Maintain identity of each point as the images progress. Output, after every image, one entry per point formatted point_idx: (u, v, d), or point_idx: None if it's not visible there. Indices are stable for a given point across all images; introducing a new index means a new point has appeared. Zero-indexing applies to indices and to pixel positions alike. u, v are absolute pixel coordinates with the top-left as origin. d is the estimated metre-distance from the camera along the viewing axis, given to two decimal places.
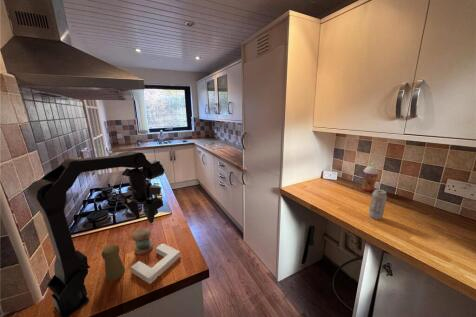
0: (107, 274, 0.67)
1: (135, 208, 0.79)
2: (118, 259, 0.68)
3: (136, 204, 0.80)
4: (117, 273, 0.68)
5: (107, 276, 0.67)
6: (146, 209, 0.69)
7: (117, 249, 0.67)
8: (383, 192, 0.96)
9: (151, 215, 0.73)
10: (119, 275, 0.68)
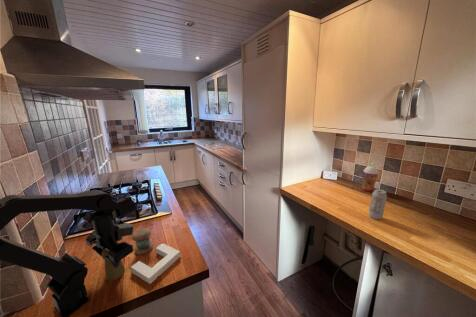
0: (107, 274, 0.67)
1: None
2: None
3: None
4: (117, 273, 0.68)
5: (107, 276, 0.67)
6: (111, 258, 0.60)
7: None
8: (383, 192, 0.96)
9: None
10: (119, 275, 0.68)
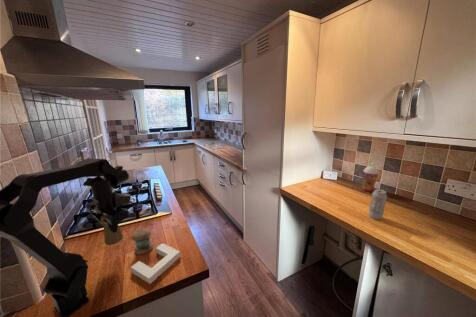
0: (106, 239, 0.71)
1: None
2: None
3: None
4: (115, 238, 0.71)
5: (106, 241, 0.71)
6: (108, 221, 0.64)
7: None
8: (383, 192, 0.96)
9: (113, 225, 0.69)
10: (117, 240, 0.72)
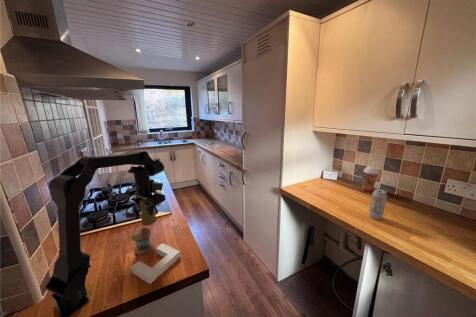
0: (143, 220, 0.82)
1: None
2: None
3: None
4: (151, 220, 0.83)
5: (143, 222, 0.82)
6: (150, 203, 0.76)
7: None
8: (383, 192, 0.96)
9: (150, 207, 0.81)
10: (153, 221, 0.84)
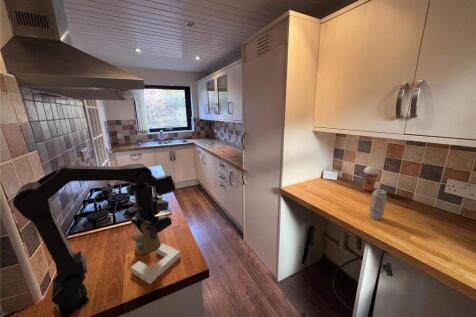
0: (145, 246, 0.69)
1: None
2: None
3: None
4: (155, 246, 0.70)
5: (145, 248, 0.69)
6: (153, 229, 0.63)
7: None
8: (383, 192, 0.96)
9: (154, 232, 0.68)
10: (156, 248, 0.71)
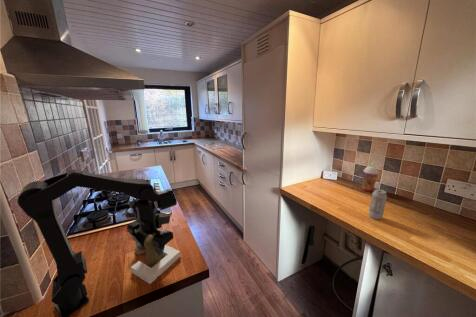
0: (149, 263, 0.71)
1: (143, 238, 0.74)
2: None
3: (144, 234, 0.75)
4: None
5: (149, 265, 0.71)
6: (156, 244, 0.65)
7: None
8: (383, 192, 0.96)
9: (160, 248, 0.69)
10: None
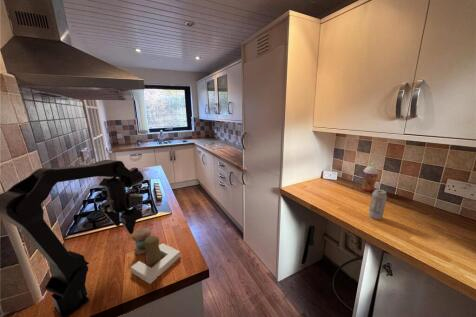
0: (149, 263, 0.71)
1: (116, 217, 0.76)
2: (158, 249, 0.73)
3: (117, 213, 0.77)
4: None
5: (148, 265, 0.71)
6: (123, 220, 0.67)
7: (158, 240, 0.72)
8: (383, 192, 0.96)
9: (130, 226, 0.71)
10: None
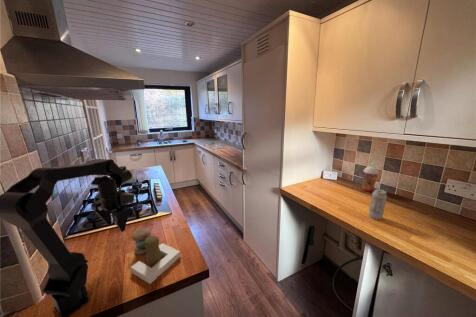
0: (149, 263, 0.71)
1: (107, 216, 0.77)
2: (158, 249, 0.73)
3: (109, 212, 0.78)
4: (157, 262, 0.72)
5: (148, 265, 0.71)
6: (115, 218, 0.68)
7: (158, 240, 0.72)
8: (383, 192, 0.96)
9: (121, 224, 0.72)
10: None
